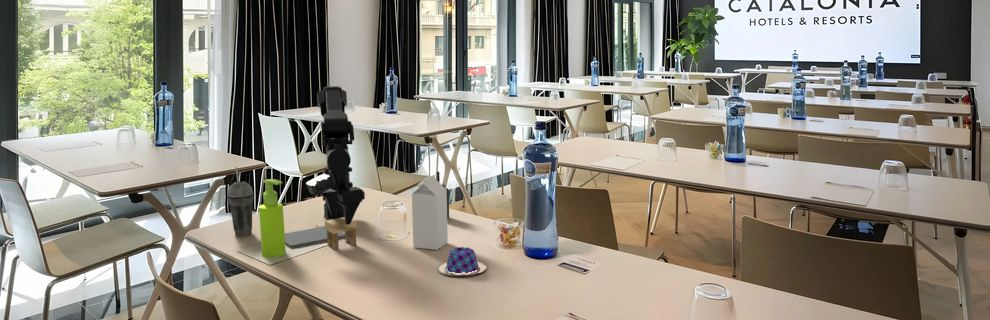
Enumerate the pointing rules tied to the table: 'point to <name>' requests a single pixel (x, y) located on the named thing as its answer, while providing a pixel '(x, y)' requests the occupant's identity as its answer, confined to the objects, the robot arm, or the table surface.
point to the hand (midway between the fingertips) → (340, 220)
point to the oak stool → (340, 226)
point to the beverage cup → (241, 207)
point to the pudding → (461, 260)
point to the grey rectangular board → (307, 237)
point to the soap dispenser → (272, 222)
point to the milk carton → (429, 215)
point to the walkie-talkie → (447, 194)
